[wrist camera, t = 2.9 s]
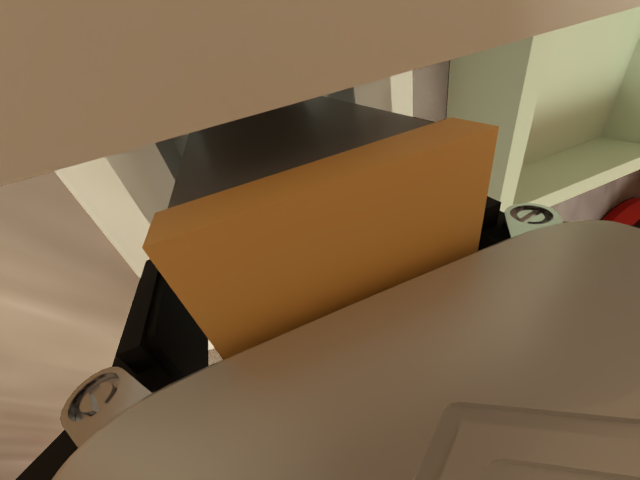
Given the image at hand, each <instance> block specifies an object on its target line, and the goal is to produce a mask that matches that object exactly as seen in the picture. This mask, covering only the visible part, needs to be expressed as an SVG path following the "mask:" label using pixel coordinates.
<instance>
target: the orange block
mask: <svg viewBox="0 0 640 480" xmlns="http://www.w3.org/2000/svg"><path fill="white" fill-rule="evenodd" d="M498 130H499V126H495V125H490V124H485V123H479V122H474V121H469V120H464V119H459V118H454V117H450V118H447V119H444V120H441V121H438V122H434V121H429V120H425V119H420V118H416V117H412V116H407V115H403V114H398V113H394V112H390V111H385V110H381V109H376V108H372V107H368V106H363V105H359V104H354V103H350V102H346V101H341V100H337V99H332V98H328V97H324V96H320V97H316V98H312V99H309V100H305V101H302V102H298V103H295V104H291V105H288V106H284V107H280V108H277V109H273V110H270V111H266V112H263V113H259V114H256V115H252V116H248V117H245V118H241V119H238V120H234V121H231V122H227V123H224V124H220V125H216V126H213V127H209V128H206V129H202V130H199V131H195V132H192V133H189V136H188V139H187V143H186V146H185V150H184V153H183V156H182V160H181V163H180V167H179V170H178V174H177V177H176V181H175V184H174V188H173V191H172V195H171V198H170V202H169V205H168V208H167V209H165V210H162V211H159V212H156V213H155V214H154V217H153V219H152V222H151V225H150V227H149V230H148V233H147V236H146V238H145V241H144V244H143V246H142V249H143V250H144V251H145V253H146V254H147V255H148V257H149V258H150V260H151V261H152V262H153V264H154V265H155V266H156V268H157V269H158V271H159V272H160V273H161V275H162V276H163V277H164V279H165V280H166V282H167V283H168V284H169V286H170V287H171V288H172V290H173V291H174V293H175V294H176V295H177V297H178V298H179V299H180V301H181V302H182V304H183V305H184V306H185V308H186V309H187V310H188V312H189V313H190V315H191V316H192V317H193V319H194V320H195V321H196V323H197V324H198V326H199V327H200V328H201V330H202V331H203V332H204V334H205V335H206V337H207V338H208V339H209V341H210V342H211V343H212V345H213V346H214V348H215V349H216V350H217V352H218V353H219V354H220V356H221V357H222V359H226V358H228V357H230V356H233V355H235V354H237V353H240V352H242V351H244V350H246V349H249V348H251V347H253V346H256V345H258V344H260V343H263V342H265V341H267V340H270V339H272V338H274V337H277V336H279V335H281V334H284V333H286V332H288V331H291V330H293V329H295V328H298V327H300V326H302V325H305V324H307V323H309V322H311V321H314V320H316V319H318V318H321V317H323V316H325V315H328V314H330V313H332V312H335V311H337V310H340V309H342V308H344V307H347V306H349V305H351V304H354V303H356V302H358V301H361V300H363V299H365V298H368V297H370V296H372V295H375V294H377V293H380V292H382V291H384V290H387V289H389V288H391V287H394V286H396V285H398V284H401V283H403V282H406V281H408V280H410V279H413V278H415V277H417V276H420V275H422V274H425V273H427V272H429V271H432V270H434V269H436V268H439V267H441V266H444V265H446V264H448V263H451V262H453V261H456V260H458V259H460V258H463V257H465V256H468V255H470V254H472V253H475V252H477V251H478V247H479V241H480V235H481V229H482V223H483V218H484V212H485V206H486V200H487V194H488V188H489V183H490V177H491V171H492V165H493V159H494V153H495V148H496V142H497V136H498Z"/></svg>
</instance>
